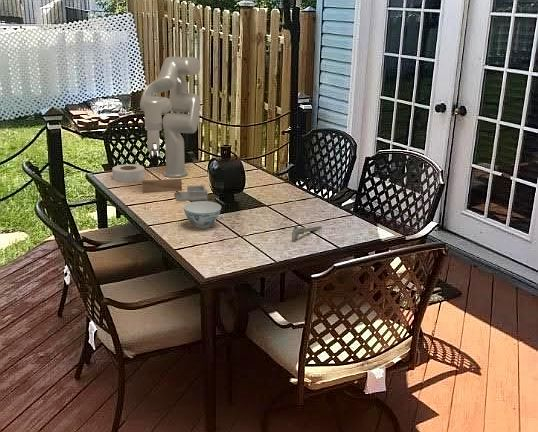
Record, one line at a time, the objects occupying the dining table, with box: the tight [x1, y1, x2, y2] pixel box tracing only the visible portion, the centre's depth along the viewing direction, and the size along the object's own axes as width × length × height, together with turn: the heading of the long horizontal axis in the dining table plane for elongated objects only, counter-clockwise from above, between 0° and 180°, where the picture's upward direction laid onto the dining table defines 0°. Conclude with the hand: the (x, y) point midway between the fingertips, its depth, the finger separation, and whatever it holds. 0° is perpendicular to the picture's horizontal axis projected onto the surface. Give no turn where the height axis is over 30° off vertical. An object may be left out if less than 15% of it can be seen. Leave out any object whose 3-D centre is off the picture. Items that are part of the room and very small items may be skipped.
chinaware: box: [183, 200, 222, 229], centre depth 256 cm, size 15×15×8 cm
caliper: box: [291, 225, 323, 242], centre depth 249 cm, size 20×1×6 cm, turn 143°
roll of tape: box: [111, 163, 146, 183], centre depth 318 cm, size 16×16×6 cm
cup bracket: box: [173, 185, 209, 202], centre depth 292 cm, size 11×14×4 cm
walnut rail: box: [141, 178, 183, 194], centre depth 300 cm, size 4×18×5 cm, turn 104°
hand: (154, 163), depth 295 cm, fingers open, 9 cm apart
